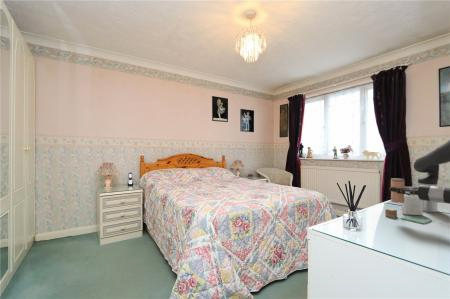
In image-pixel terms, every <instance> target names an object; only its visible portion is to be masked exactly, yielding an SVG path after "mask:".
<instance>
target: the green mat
mask: <svg viewBox="0 0 450 299" xmlns="http://www.w3.org/2000/svg"><path fill="white" fill-rule="evenodd" d="M400 220H403V221H408V222H412V223H416V224H421V225H426V224H428V223H431V222H432V221H433V220H432V219H427V218H423V217H419V216H415V215H406V216H402V217H400Z"/></svg>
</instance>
